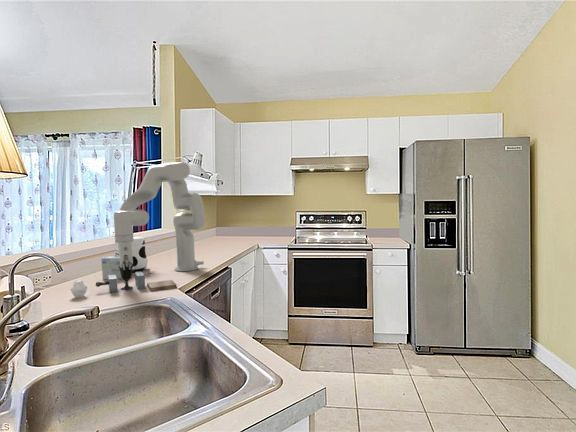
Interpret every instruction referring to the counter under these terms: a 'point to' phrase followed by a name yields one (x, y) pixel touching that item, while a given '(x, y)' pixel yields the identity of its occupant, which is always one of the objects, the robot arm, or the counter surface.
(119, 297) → the counter surface
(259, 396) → the counter surface
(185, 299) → the counter surface
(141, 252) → the milk container
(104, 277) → the light bulb box
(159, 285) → the walnut board
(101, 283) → the vise
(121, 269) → the sundae
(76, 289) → the white faceted knobby ball
